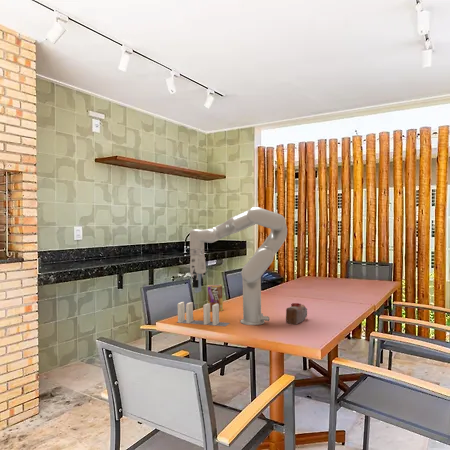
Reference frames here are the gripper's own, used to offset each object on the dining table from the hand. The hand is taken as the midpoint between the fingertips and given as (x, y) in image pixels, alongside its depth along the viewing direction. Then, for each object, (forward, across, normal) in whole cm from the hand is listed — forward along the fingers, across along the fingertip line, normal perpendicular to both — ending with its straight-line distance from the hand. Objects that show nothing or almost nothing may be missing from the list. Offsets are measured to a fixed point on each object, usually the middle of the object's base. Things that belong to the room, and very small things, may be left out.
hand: (198, 286), depth 207 cm
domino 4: (+19, -1, -10) cm, 22 cm away
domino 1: (+19, -2, +10) cm, 21 cm away
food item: (+20, +18, -48) cm, 55 cm away
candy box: (+20, +30, +4) cm, 36 cm away
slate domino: (+3, 0, 0) cm, 3 cm away
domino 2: (+19, -1, +5) cm, 20 cm away
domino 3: (+19, -1, -5) cm, 20 cm away
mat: (+19, -1, -3) cm, 20 cm away
